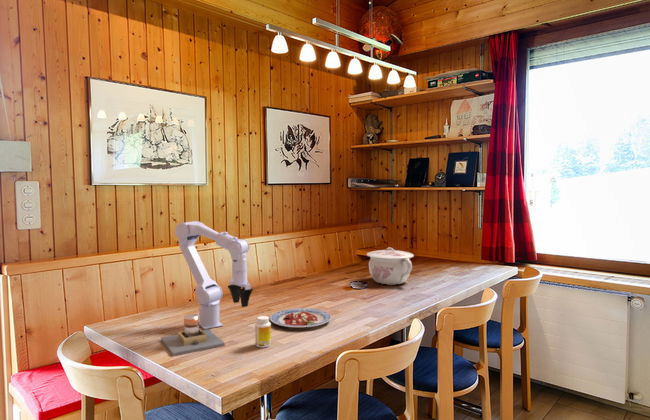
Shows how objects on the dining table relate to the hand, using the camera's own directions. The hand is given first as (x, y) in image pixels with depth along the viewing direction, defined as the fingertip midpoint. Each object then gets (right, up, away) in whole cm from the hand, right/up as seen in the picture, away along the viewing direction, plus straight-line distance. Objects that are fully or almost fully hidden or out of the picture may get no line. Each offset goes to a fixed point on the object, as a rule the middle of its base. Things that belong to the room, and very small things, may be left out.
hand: (240, 304), depth 177 cm
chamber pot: (+71, -5, +84) cm, 110 cm away
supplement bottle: (+11, -12, -15) cm, 22 cm away
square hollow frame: (-15, -11, -13) cm, 23 cm away
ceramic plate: (+23, -10, +12) cm, 28 cm away
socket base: (-15, -11, -13) cm, 23 cm away
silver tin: (-15, -10, -13) cm, 23 cm away
